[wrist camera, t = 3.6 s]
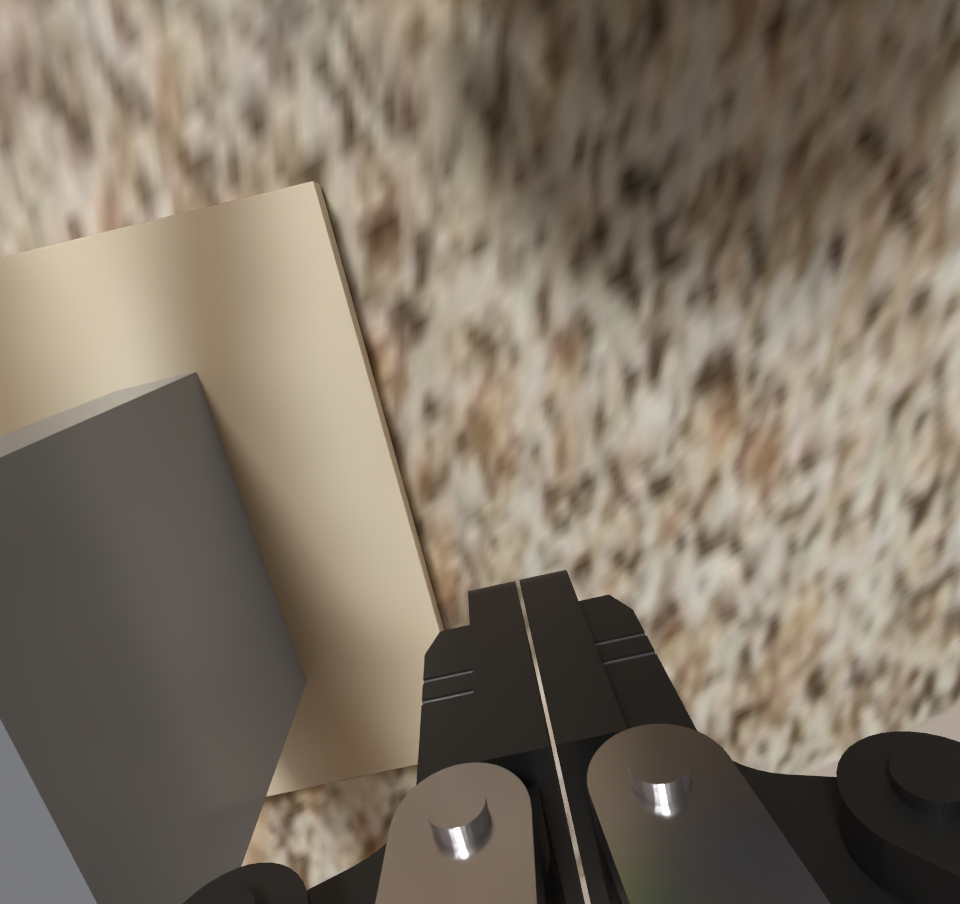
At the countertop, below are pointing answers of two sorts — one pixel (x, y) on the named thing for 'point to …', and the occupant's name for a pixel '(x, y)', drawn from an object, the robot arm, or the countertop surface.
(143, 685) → the block
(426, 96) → the countertop surface
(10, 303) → the board
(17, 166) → the countertop surface
